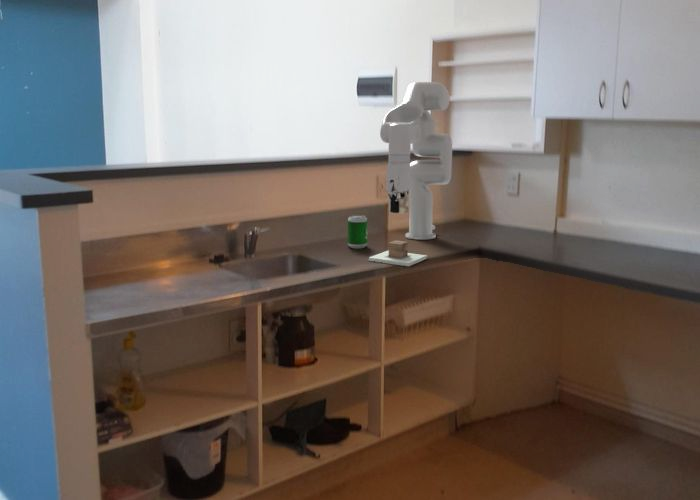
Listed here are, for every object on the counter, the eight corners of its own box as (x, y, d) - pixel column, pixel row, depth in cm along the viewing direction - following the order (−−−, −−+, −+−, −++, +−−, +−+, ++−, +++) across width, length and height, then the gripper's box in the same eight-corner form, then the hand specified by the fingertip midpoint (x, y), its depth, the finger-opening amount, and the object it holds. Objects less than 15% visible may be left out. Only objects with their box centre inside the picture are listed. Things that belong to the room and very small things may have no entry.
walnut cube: (395, 253, 257) (395, 240, 256) (407, 255, 255) (407, 241, 254) (388, 256, 253) (388, 242, 252) (400, 258, 251) (401, 244, 250)
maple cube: (395, 210, 254) (396, 196, 253) (408, 211, 251) (408, 197, 250) (389, 212, 250) (389, 198, 249) (401, 213, 247) (401, 199, 246)
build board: (388, 253, 264) (388, 249, 264) (426, 258, 256) (427, 255, 255) (368, 260, 253) (368, 257, 252) (408, 266, 244) (408, 262, 244)
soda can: (365, 249, 272) (365, 218, 269) (346, 248, 273) (345, 217, 271) (368, 245, 279) (368, 215, 276) (349, 244, 280) (349, 214, 278)
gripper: (401, 157, 256) (400, 207, 259) (377, 160, 242) (377, 213, 245) (420, 158, 252) (419, 209, 255) (396, 161, 238) (396, 215, 241)
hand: (398, 210), depth 250 cm, fingers closed on maple cube, 4 cm apart
